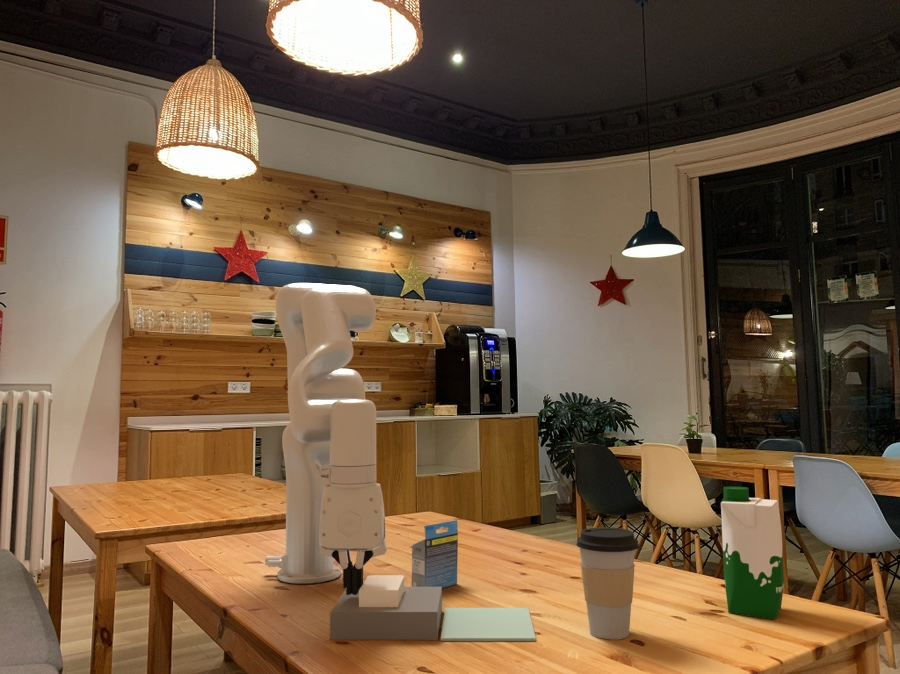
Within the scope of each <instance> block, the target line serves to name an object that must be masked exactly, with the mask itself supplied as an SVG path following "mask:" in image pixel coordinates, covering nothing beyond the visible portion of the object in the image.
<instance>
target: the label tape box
mask: <svg viewBox="0 0 900 674" xmlns="http://www.w3.org/2000/svg"><path fill="white" fill-rule="evenodd" d="M441 528H442V529H444V530H445V529H446V531H443V532H437V530H440V529H441ZM423 529H424V539H422V540H420V541H417V542H416V543H413V544H411V587H442V589H443V588H446V587H451V586H454V585H458V563H459V562H458V557H459V556H458V555H459V553H458V552H459V551H458V550H459V549H458V547H459V546H458V545H459V537H458V536H459V533H458V532H459V531H458V519H455V520H449V521H443V522H438V523H432V524H424V525H423Z"/></svg>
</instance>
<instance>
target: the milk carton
mask: <svg viewBox="0 0 900 674" xmlns="http://www.w3.org/2000/svg"><path fill="white" fill-rule="evenodd" d="M749 489H750V488H749V487H746V486H739V485H737V486H735V485H734V486H732V485H730V486H723V490H722V491H723V499H721V500H722V501H721V502H720V510H721V511H720V513H721V538H722V539H721V540H722V554H723V555H722V559H723V579H724V588H725V596H726V604H727V612H728V614H734V615H740V616H747V617H753V618H760V619H768V620H774V621H775V620H776V619H777V617H778V615H779V613H780V611H781V609H782V603H783V597H784V596H783V593H784V587H785V574H784V573H785V572H784V569H785V568H784V554H783V553H784V552H783V549H784V548H783V534H782V531H783V530H782V523H781V516H780V508H779V500H777V499H765V498H763V499H762V498H761V497H750V492H749Z"/></svg>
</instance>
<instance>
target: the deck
mask: <svg viewBox="0 0 900 674" xmlns="http://www.w3.org/2000/svg"><path fill="white" fill-rule="evenodd" d="M442 590H443V588H442V587H412V586H404V593H403V596H402V598H401V601H400V603H399V606H398V607H359V592H358V593H357V595H353V594H350V595H346V589H345V590H344V591H343V593H342V594H341V596H340V597H339V599H338V600H337V602H336V603H335V604H334V606H333V607H332V609H331V611H330V616H329V618H330V620H329V622H330V623H329V625H330V627H329V628H330V632H329V635H330V638H329V639H330V641H331V640H332V641H334V640H336V641H338V640H339V641H340V640H342V641H344V640H345V641H346V640H347V641H349V640H350V641H351V640H352V641H354V640H355V641H356V640H357V641H361V640H362V641H363V640H364V641H368V640H370V641H374V640H377V641H380V640H381V641H382V640H383V641H386V640H387V641H389V640H392V641H401V640H402V641H427V640H428V641H430V640H431V641H438V638H439V634H440V633H439V631H440V626H441V619H442V614H443V594H442V593H443V591H442Z"/></svg>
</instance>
